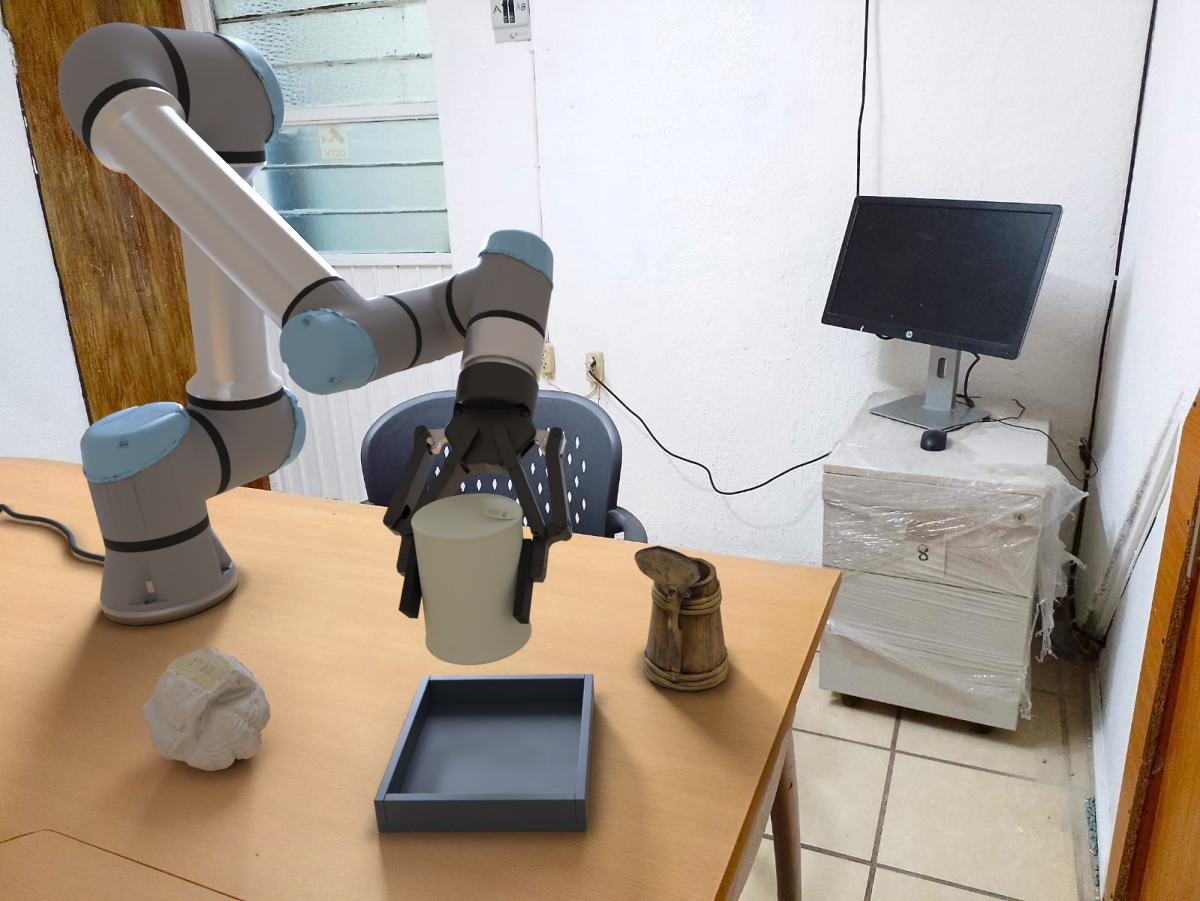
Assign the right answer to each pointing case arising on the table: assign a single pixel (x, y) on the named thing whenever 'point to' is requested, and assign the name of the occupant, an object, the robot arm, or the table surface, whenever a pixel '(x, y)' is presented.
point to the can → (470, 577)
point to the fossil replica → (207, 710)
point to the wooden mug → (683, 621)
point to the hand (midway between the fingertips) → (464, 617)
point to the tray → (492, 756)
